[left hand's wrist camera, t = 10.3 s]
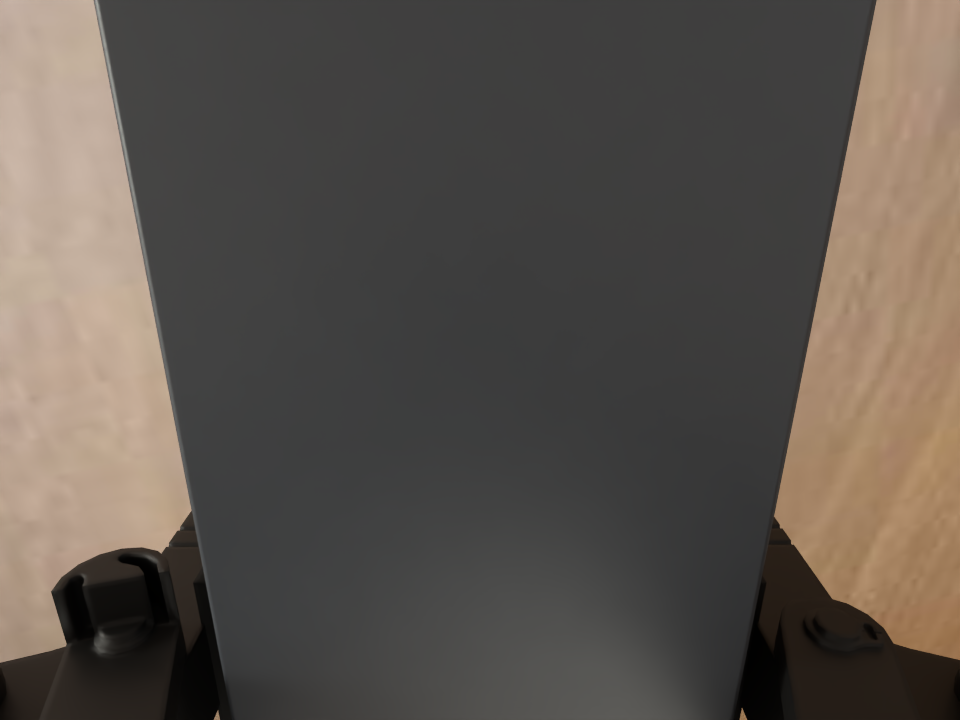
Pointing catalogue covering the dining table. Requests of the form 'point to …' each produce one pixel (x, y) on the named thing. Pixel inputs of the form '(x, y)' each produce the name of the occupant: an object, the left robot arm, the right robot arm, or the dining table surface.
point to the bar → (484, 333)
